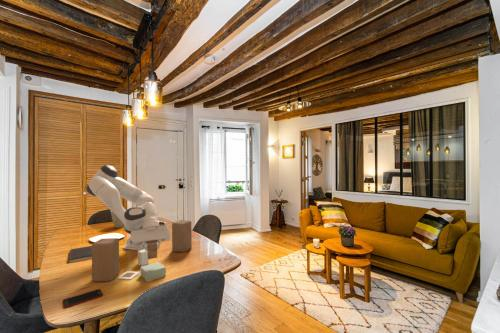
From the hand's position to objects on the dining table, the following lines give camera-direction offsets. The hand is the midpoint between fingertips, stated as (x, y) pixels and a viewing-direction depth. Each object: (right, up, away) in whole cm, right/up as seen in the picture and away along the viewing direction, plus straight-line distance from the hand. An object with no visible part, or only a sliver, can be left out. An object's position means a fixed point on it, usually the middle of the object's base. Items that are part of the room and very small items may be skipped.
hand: (152, 249), depth 132 cm
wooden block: (-24, -15, -1) cm, 29 cm away
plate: (-63, -15, +65) cm, 91 cm away
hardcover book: (-59, -15, +32) cm, 69 cm away
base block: (0, -15, +1) cm, 15 cm away
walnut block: (0, -4, +1) cm, 4 cm away
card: (-13, -15, 0) cm, 20 cm away
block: (+5, -14, +41) cm, 43 cm away
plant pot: (-73, -14, +103) cm, 127 cm away
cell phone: (-23, -16, -22) cm, 35 cm away
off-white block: (-12, -15, +16) cm, 25 cm away
